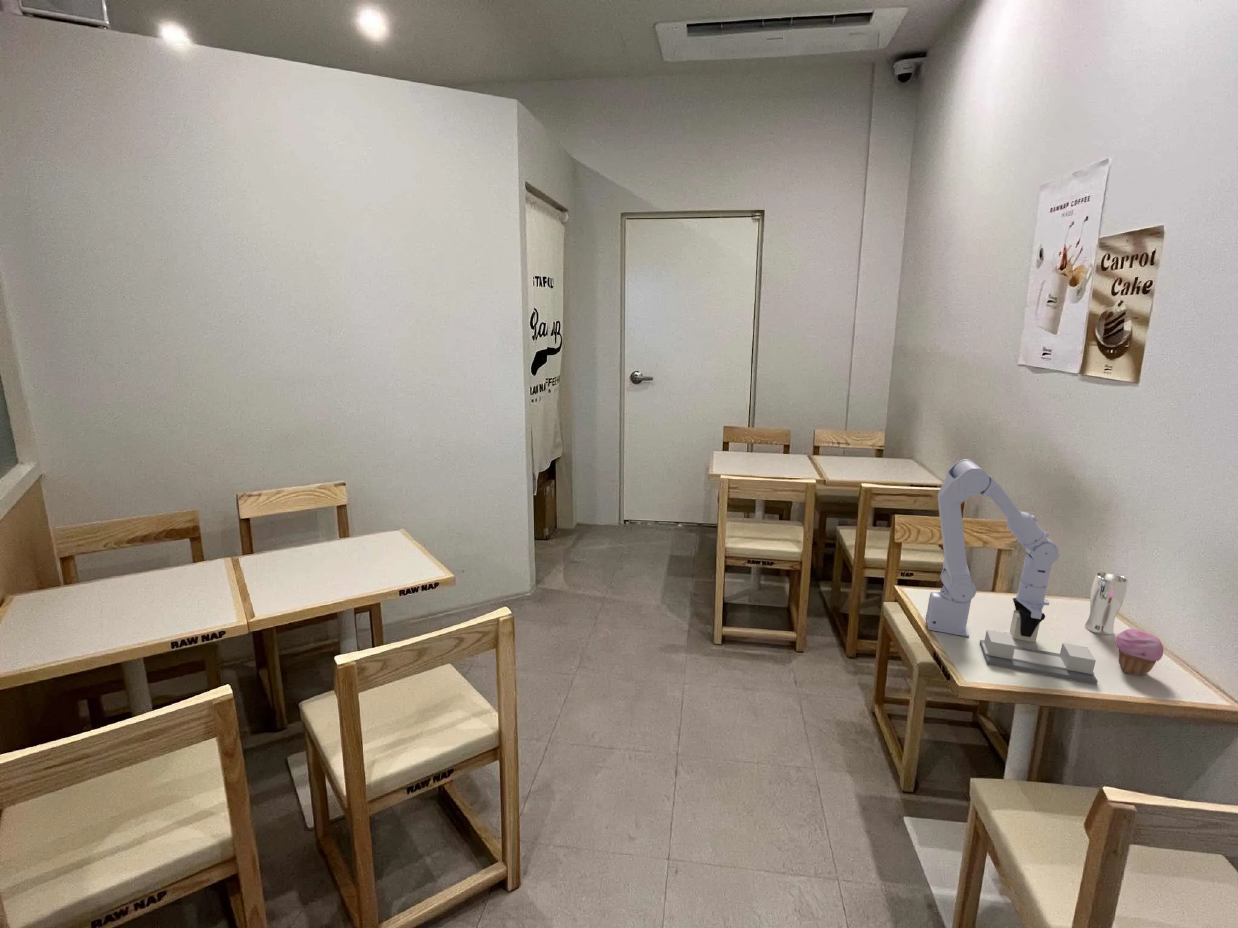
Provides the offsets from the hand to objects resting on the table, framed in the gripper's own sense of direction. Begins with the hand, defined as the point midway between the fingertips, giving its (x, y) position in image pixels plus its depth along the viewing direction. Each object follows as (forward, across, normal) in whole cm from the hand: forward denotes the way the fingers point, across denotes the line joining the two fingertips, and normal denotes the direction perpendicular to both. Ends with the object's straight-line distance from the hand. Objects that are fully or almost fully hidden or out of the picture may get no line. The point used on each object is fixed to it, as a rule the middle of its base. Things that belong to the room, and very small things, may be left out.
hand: (1023, 631), depth 165 cm
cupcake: (+2, -8, -21) cm, 23 cm away
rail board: (+1, -13, 0) cm, 13 cm away
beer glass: (+2, +12, -20) cm, 23 cm away
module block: (+1, 0, 0) cm, 1 cm away
